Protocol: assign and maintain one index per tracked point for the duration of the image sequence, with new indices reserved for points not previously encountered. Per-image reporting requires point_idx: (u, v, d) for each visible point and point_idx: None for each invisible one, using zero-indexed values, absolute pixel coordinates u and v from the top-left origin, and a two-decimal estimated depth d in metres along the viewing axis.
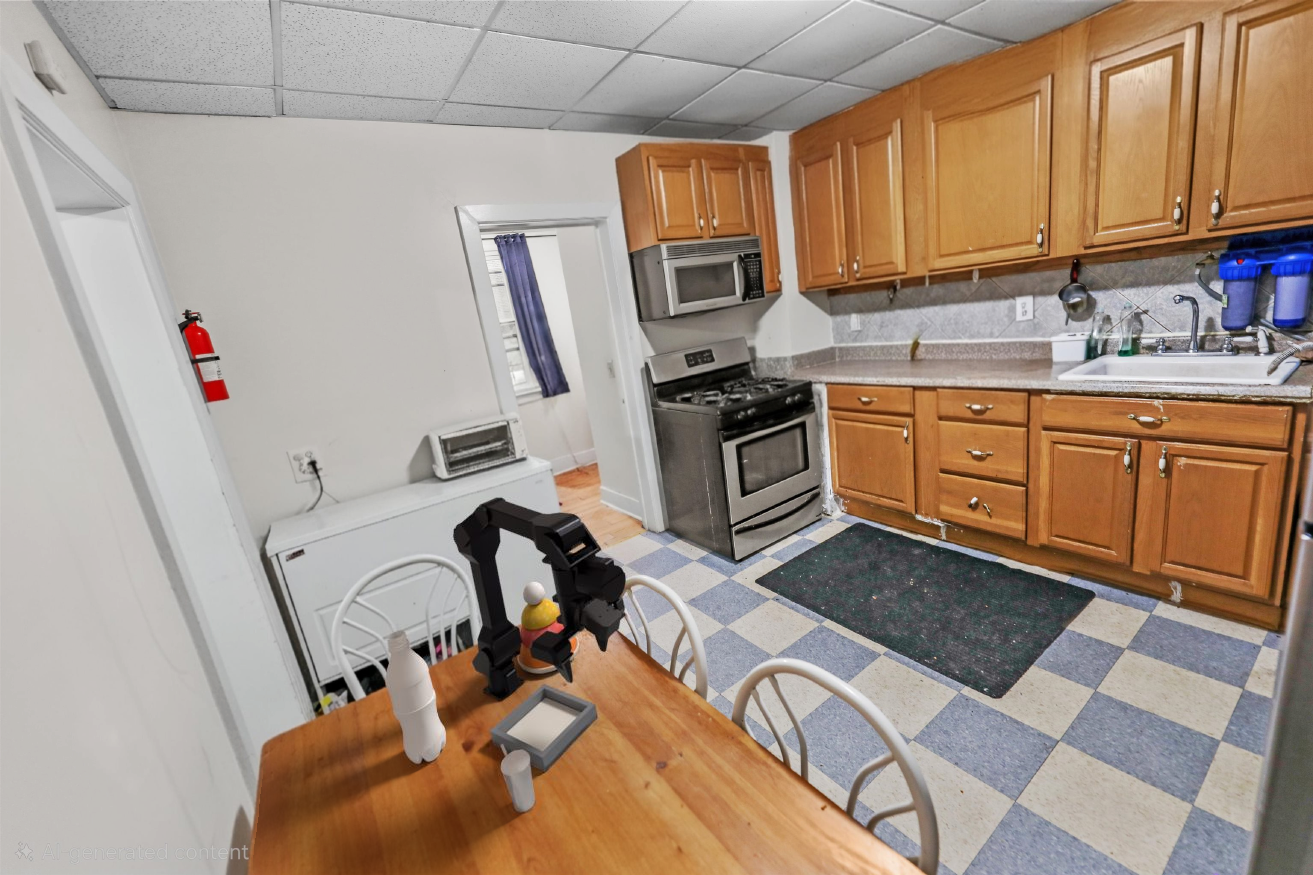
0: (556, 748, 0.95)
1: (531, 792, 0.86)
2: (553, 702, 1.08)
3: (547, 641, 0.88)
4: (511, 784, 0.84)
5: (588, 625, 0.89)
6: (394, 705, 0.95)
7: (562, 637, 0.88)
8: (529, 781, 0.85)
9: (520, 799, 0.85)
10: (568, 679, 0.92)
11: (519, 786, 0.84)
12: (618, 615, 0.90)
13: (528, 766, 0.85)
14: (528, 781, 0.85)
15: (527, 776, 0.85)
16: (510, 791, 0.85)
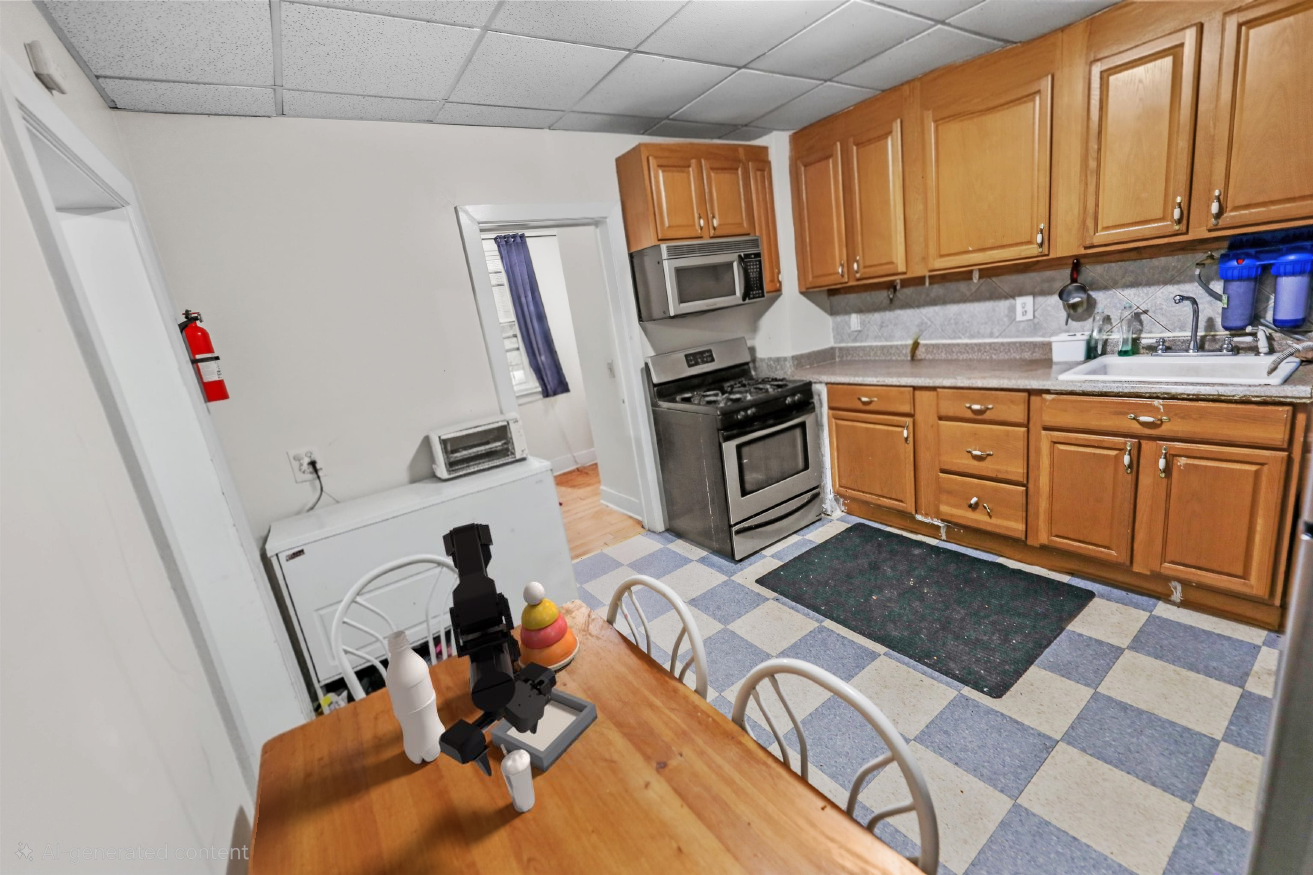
0: (556, 748, 0.95)
1: (531, 792, 0.86)
2: (553, 702, 1.08)
3: (457, 734, 0.77)
4: (511, 784, 0.84)
5: (506, 715, 0.78)
6: (394, 705, 0.95)
7: (475, 729, 0.77)
8: (529, 781, 0.85)
9: (520, 799, 0.85)
10: (486, 773, 0.81)
11: (519, 786, 0.84)
12: (541, 702, 0.79)
13: (528, 766, 0.85)
14: (528, 781, 0.85)
15: (527, 776, 0.85)
16: (510, 791, 0.85)
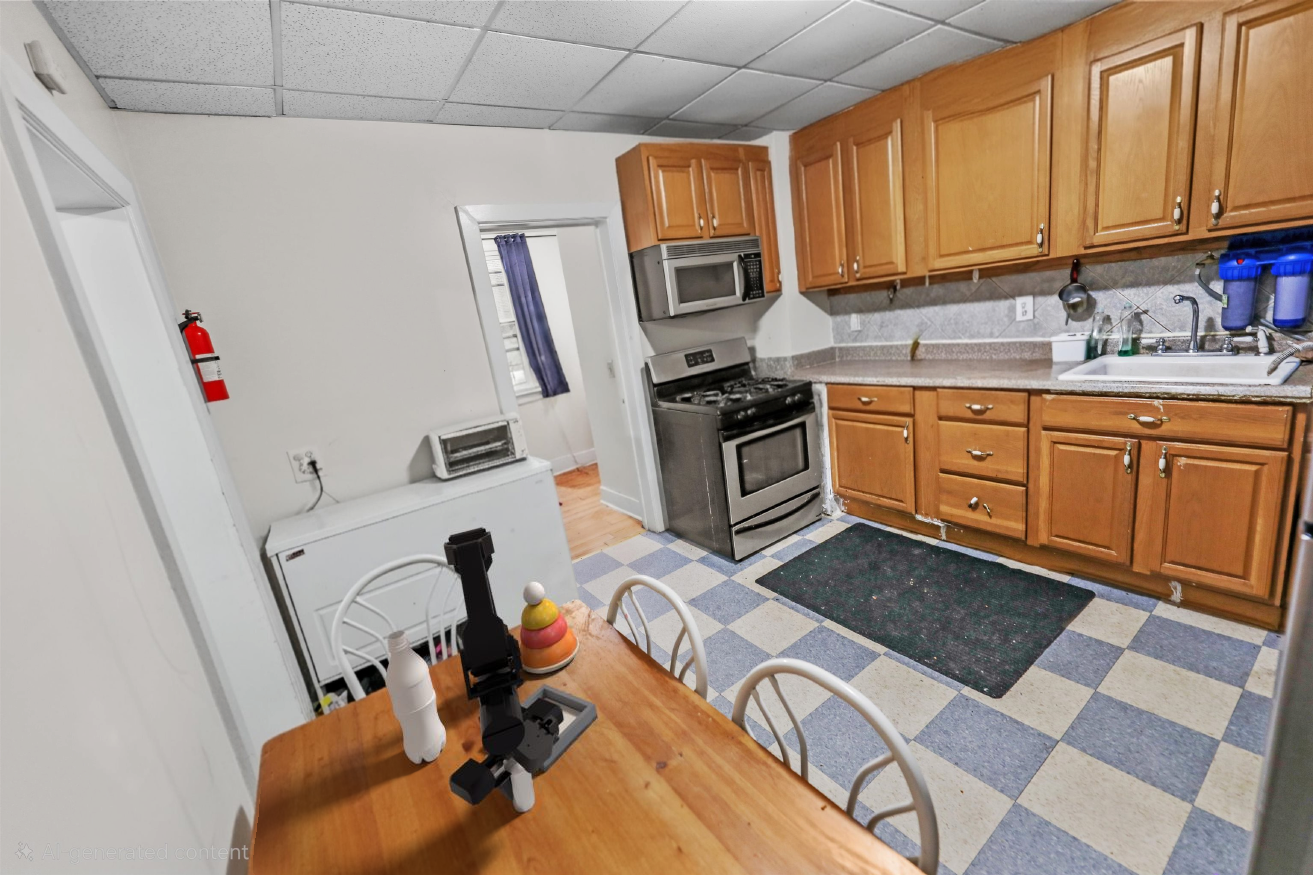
0: (556, 748, 0.95)
1: (531, 792, 0.86)
2: (553, 702, 1.08)
3: (467, 775, 0.78)
4: (511, 784, 0.84)
5: (515, 755, 0.80)
6: (394, 705, 0.95)
7: (485, 769, 0.79)
8: (529, 781, 0.85)
9: (520, 799, 0.85)
10: (508, 798, 0.85)
11: (519, 786, 0.84)
12: (550, 742, 0.81)
13: None
14: (528, 781, 0.85)
15: (527, 776, 0.85)
16: None
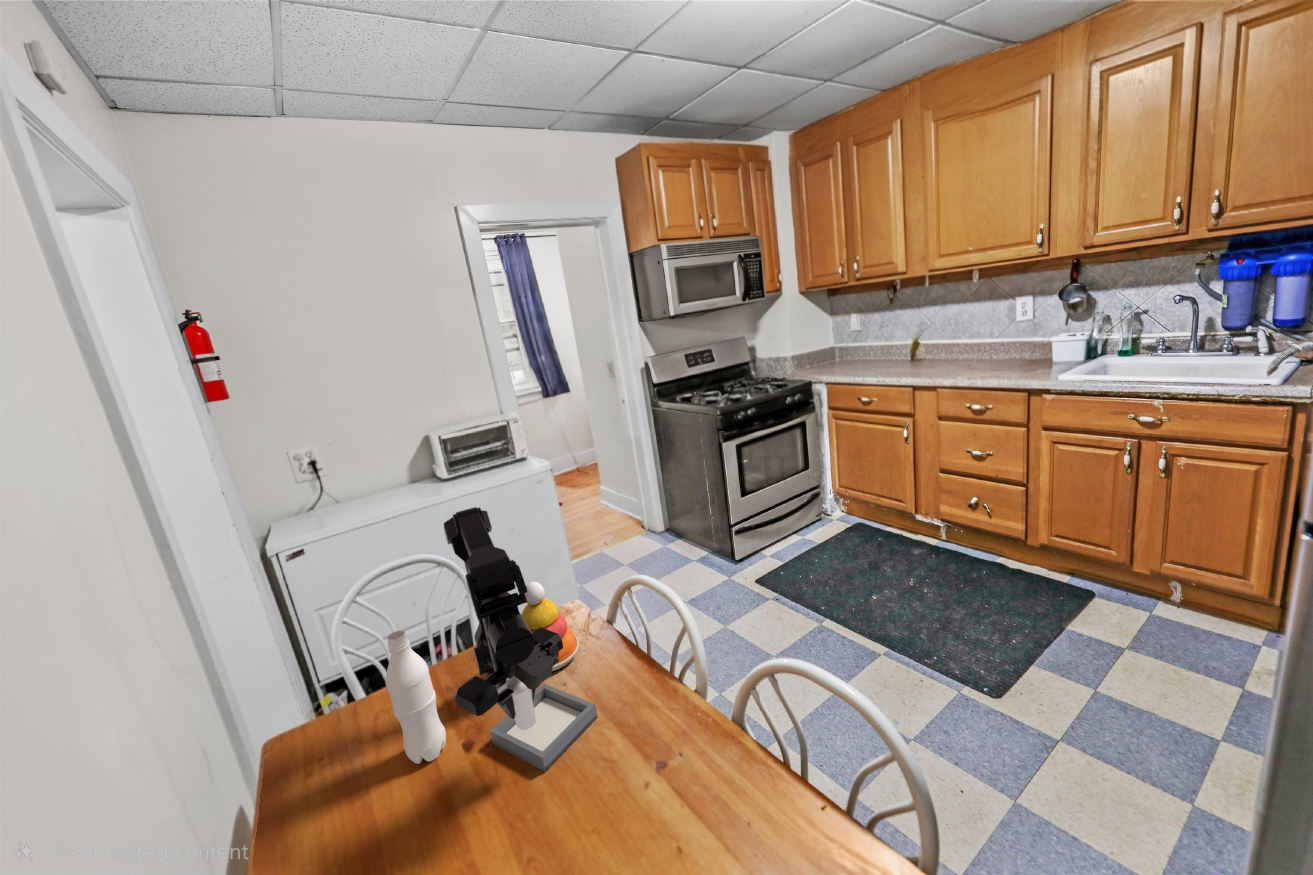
0: (556, 748, 0.95)
1: (532, 712, 0.92)
2: (553, 702, 1.08)
3: (472, 689, 0.84)
4: (513, 703, 0.89)
5: (517, 672, 0.85)
6: (394, 705, 0.95)
7: (488, 685, 0.84)
8: (530, 701, 0.91)
9: (522, 717, 0.90)
10: (510, 715, 0.90)
11: (521, 705, 0.89)
12: (550, 662, 0.86)
13: None
14: (530, 701, 0.91)
15: (528, 696, 0.90)
16: None
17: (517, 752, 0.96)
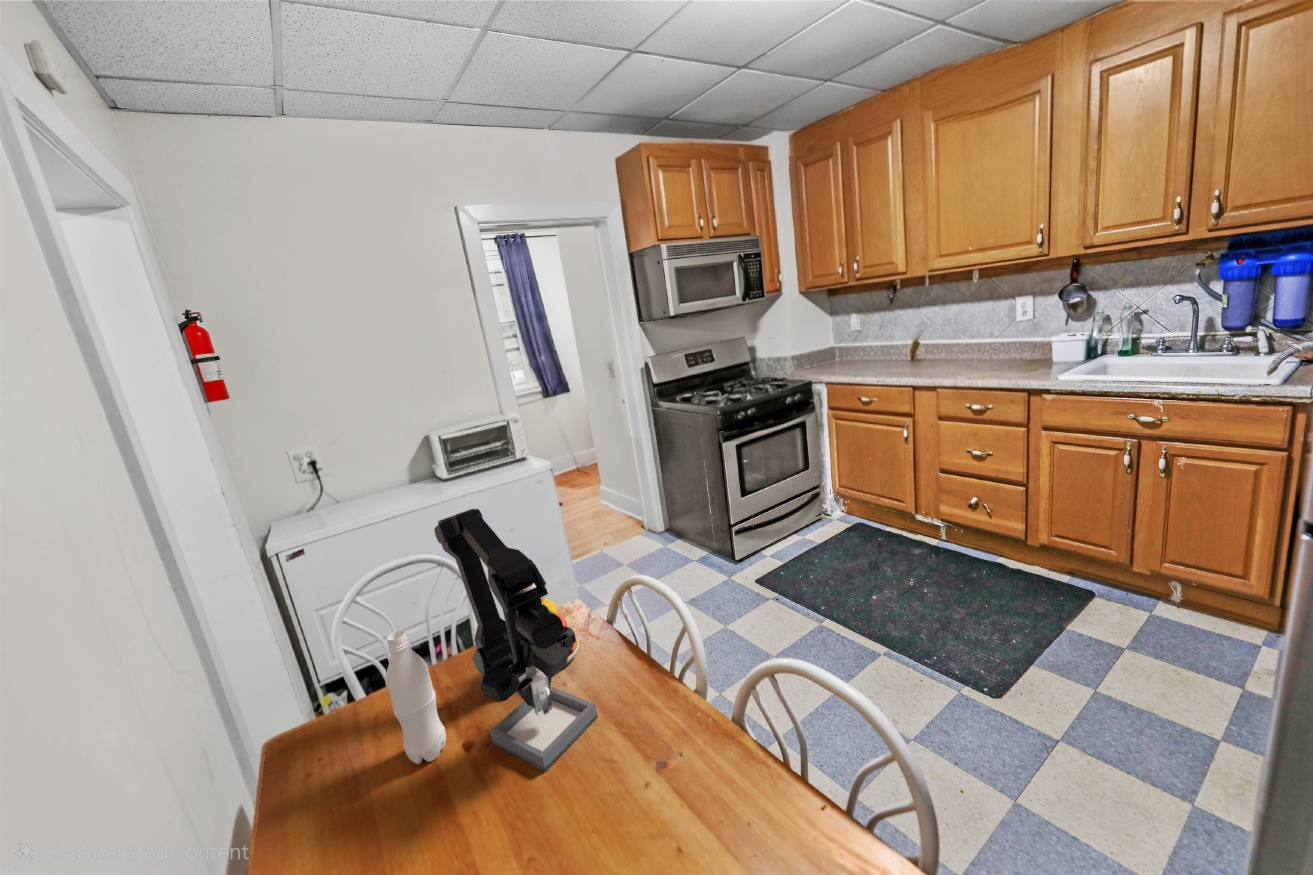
0: (556, 748, 0.95)
1: (549, 700, 1.00)
2: (553, 702, 1.08)
3: (496, 678, 0.92)
4: (532, 691, 0.98)
5: (536, 662, 0.94)
6: (394, 705, 0.95)
7: (510, 674, 0.93)
8: (547, 690, 0.99)
9: (540, 705, 0.99)
10: (529, 703, 0.98)
11: (539, 693, 0.98)
12: (565, 652, 0.95)
13: (546, 677, 0.99)
14: (546, 689, 0.99)
15: (545, 685, 0.99)
16: None
17: (517, 752, 0.96)
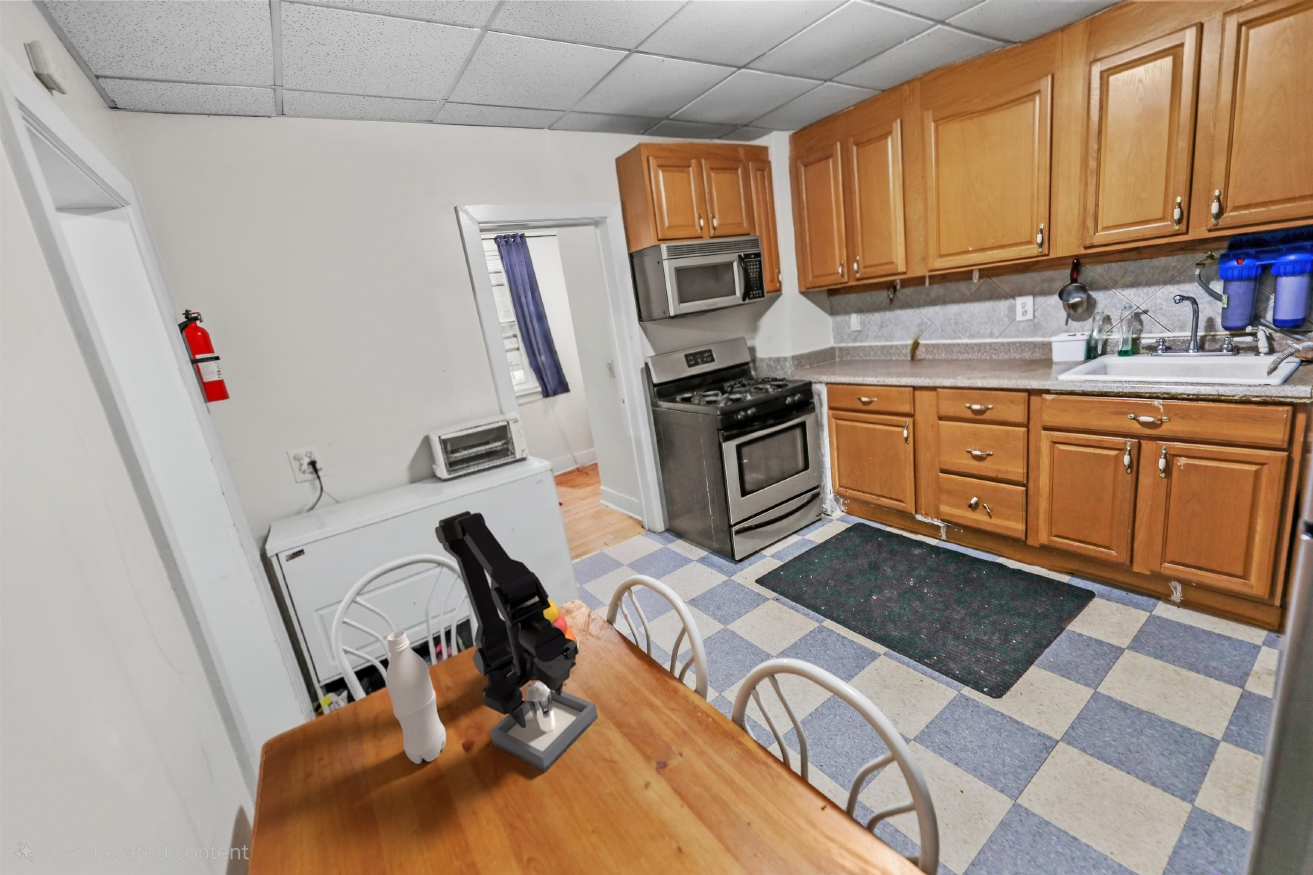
0: (556, 748, 0.95)
1: (552, 716, 1.01)
2: (553, 702, 1.08)
3: (499, 691, 0.93)
4: (535, 709, 0.98)
5: (539, 675, 0.94)
6: (394, 705, 0.95)
7: (513, 686, 0.93)
8: (550, 706, 1.00)
9: (543, 721, 0.99)
10: (521, 725, 0.97)
11: (542, 710, 0.99)
12: (568, 665, 0.95)
13: (549, 693, 0.99)
14: (549, 706, 1.00)
15: (548, 702, 0.99)
16: (534, 715, 1.00)
17: (517, 752, 0.96)
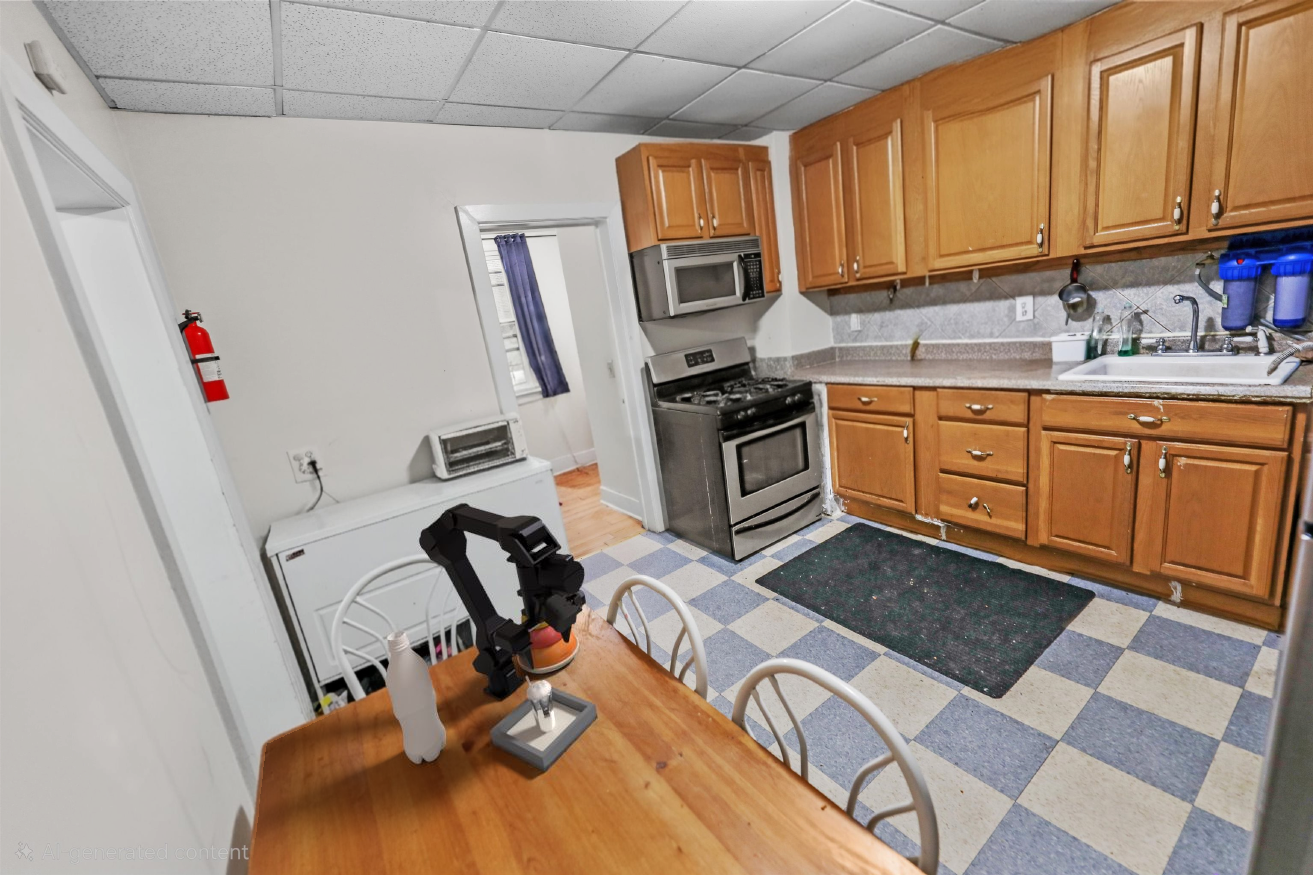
0: (556, 748, 0.95)
1: (552, 716, 1.01)
2: (553, 702, 1.08)
3: (508, 631, 0.97)
4: (536, 708, 0.99)
5: (546, 618, 0.98)
6: (394, 705, 0.95)
7: (522, 628, 0.98)
8: (550, 706, 1.00)
9: (543, 721, 1.00)
10: (529, 666, 1.01)
11: (542, 709, 0.99)
12: (574, 610, 0.99)
13: (550, 693, 1.00)
14: (550, 706, 1.00)
15: (549, 701, 1.00)
16: (535, 715, 1.00)
17: (517, 752, 0.96)
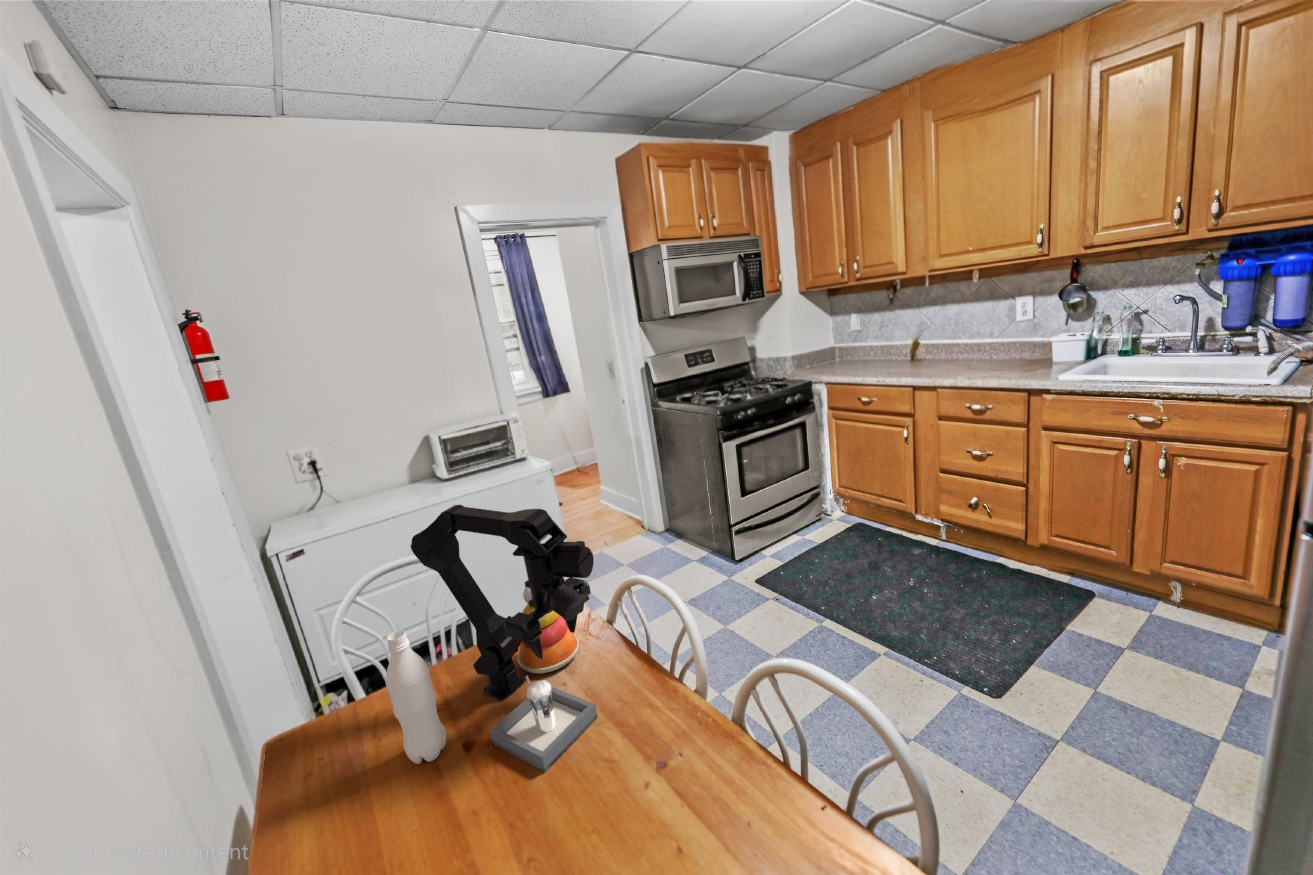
0: (556, 748, 0.95)
1: (552, 716, 1.01)
2: (553, 702, 1.08)
3: (518, 621, 1.00)
4: (536, 708, 0.99)
5: (555, 607, 1.01)
6: (394, 705, 0.95)
7: (532, 617, 1.00)
8: (551, 706, 1.00)
9: (543, 721, 1.00)
10: (538, 655, 1.04)
11: (542, 709, 0.99)
12: (582, 598, 1.02)
13: (550, 693, 1.00)
14: (550, 706, 1.00)
15: (549, 701, 1.00)
16: (535, 715, 1.00)
17: (517, 752, 0.96)
